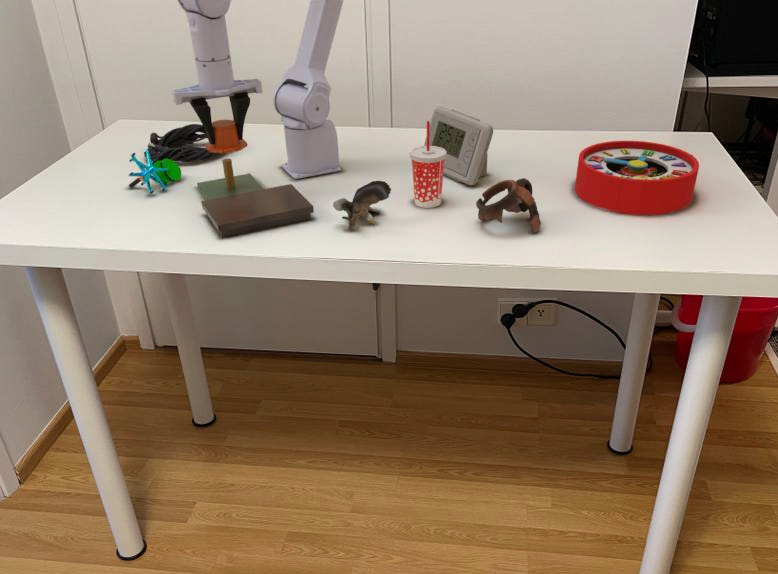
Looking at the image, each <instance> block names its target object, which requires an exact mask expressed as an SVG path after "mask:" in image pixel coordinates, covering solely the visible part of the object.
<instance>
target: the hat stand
mask: <svg viewBox="0 0 778 574" xmlns="http://www.w3.org/2000/svg"><path fill="white" fill-rule="evenodd" d="M221 163H222V168H223V175H224V177H223V178H222V177H221V178H216V179H211V180H206V181H201V182H197V183H196V186H197V189H198V191H200V194H201V195H202V196H203V197H204V200H209V199H215V198H220V197H225V196H231V195H236V194H241V193H246V192H252V191H257V190H262V189H264V188H263V187H262V185H261V184H260V183H259V182H258V181H257V180H256V179H255V177H254V176H252V174H251V173H245V174H244V173H243V174H240V175H235V174H234V168H233V161H232V158H224V159H222V160H221Z"/></svg>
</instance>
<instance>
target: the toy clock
mask: <svg viewBox="0 0 778 574" xmlns="http://www.w3.org/2000/svg"><path fill="white" fill-rule="evenodd" d="M577 160H578V161H577V168H576V176H575V183H574V191H575V194H576V195H577V197H578V198H580V199H581V201H583V202H585V203H587V204H589V205H590V206H593V207H595V208H598V209H601V210H604V211H608V212H612V213H617V214H623V215H624V214H625V215H631V216H632V215H633V216H634V215H635V216H659V215H664V214H665V215H666V214H671V213H675V212H678V211H681V210H683V209H685V208H687V207H688V206H689V205H690V204H691V203H692V200H693V196H694V193H695V188H696V183H697V178H698V175H699V170H700V162H699V160H698V159H697V158H696V157H695V156H694V155H693V154H691V153H689V152H687V151H685V150H683V149H680V148H678V147H675V146H671V145H667V144H664V143H658V142H653V141H646V140H645V141H644V140H612V141H604V142H603V141H602V142H598V143H595V144H591V145H589V146H586V147H585V148H583V149H582V150H581V151H580V152H579V154H578V159H577Z"/></svg>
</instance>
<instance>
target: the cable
mask: <svg viewBox="0 0 778 574" xmlns="http://www.w3.org/2000/svg"><path fill="white" fill-rule="evenodd" d="M205 139H208V137H207V134H206V131H205V129H204V127H203V125H202V124H199V123H190V124H186V125H184V126H182V127H176V128H173V129H171V130H169V131H168V132H166V133H165V134H164V135H162V136H160V135H159V134H158V133H156V132H151V133H150V135H149V142H148V144H147V148H146V150H148V151H149V155H150V159H151V162H152V161H154V160H155V159H156V160H157V161H162V160H163V159H170V160H172V161H174V162H181V163H194V162H198V161H206V160H209V159H212V158H215V157H218V156H221V155H222V154H224V153H214V152H209V151H208V150H207V149H206V147H201V146H194V145H193V144H194V143H198V142H201V141H204V140H205ZM143 157H144V158H147V156H146V154H144V153H143Z"/></svg>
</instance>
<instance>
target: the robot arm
mask: <svg viewBox="0 0 778 574" xmlns="http://www.w3.org/2000/svg"><path fill="white" fill-rule="evenodd" d="M177 3H178V5H179V6H180V8H181V9H182V10H183V11H184V12H185V14H186V18H187V22H188V27H189V32H190V38H191V44H192V51H193V57H194V62H195V68H196V74H197V80H198V84H195V85H191V86H190V85H189V86H187V87H181V88H177V89H172V90H171V93H172V98H173V103H174V104H175V105H176V106H179V105H183V104H185V103H189V104H190V106H191V108H192V109H193V110H194V112H195V114H196V116H197V117H198V119H199V120H200V122H201V125H203V127H204V129H205V131H206V134H207V137H208V138H207V140H208V143H209V142H210V144H211V145H213V144H215V137H214V132H213V128H212V122H213V121H212V109H211V107H210V105H209V101H207V100H213V99H220V98H227V97H228V99H229V103H230V107H231V112H232V118H233V121H235V122H236V125H237V130H238V139H239V140H243V139H244V126H245V120H246V117H247V114H248V113H247V112H248V110H249V107H250V105H251V97H250V96H249V94H263V85H262V81H261V80H260V79H259V78H252V79H235V77H234V70H233V63H232V62H233V61H232V56H231V50H230V42H229V36H228V28H227V21H226V14H227V13H228V11H229V9H230V7H231V3H232V0H177ZM343 4H344V0H310V1H309V4H308V8H307V13H306V17H305V22H304V26H303V28H302V32H301V37H300V41H299V46H298V49H297V54H296V57H295V60H294V64H293V65H292V66H291V67H290V68H288V69H287V70H286V71H284V73H283V74H282V79H281V81H280V83H279V84H278V86H277V87H276V89H275V91H274V93H273V97H272V100H273V101H272V103H273V107H274V109H275V111H276V113H277V114H278V115H279V116H281V122H283V130H284V139H285V140H284V141H285V148H286V159H287V162H285V163H282V164H281V168H282V169H283V170H284V171H286V173H287V174H288V175H289V176H290V177H292V178H293V179H294V180H299V179H304V178H308V177H314V176H319V175H326V174H331V173H336V172H340V171H342V168H341V167H340V155H339V154H340V153H339V141H338V138H339V137H338V133H337V129H336V125H335V124H334V122H333V121H332V120H331V119H328V116H329V114H330V109H331V104H330V95H331V91H332V86H331V84H330V83H329V80H328V79H327V78H326V75H325V72H326V68H327V65H328V61H329V56H330V53H331V49H332V45H333V42H334V39H335V38H334V37H335V34H336V30H337V26H338V23H339V19H340V15H341V12H342V9H343V8H342V7H343Z"/></svg>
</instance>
